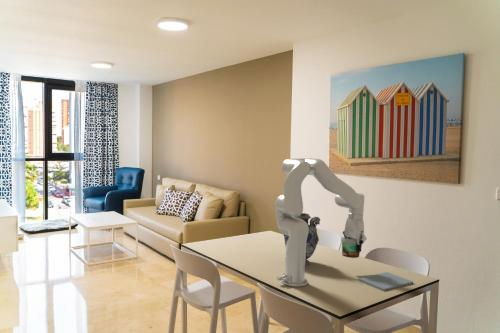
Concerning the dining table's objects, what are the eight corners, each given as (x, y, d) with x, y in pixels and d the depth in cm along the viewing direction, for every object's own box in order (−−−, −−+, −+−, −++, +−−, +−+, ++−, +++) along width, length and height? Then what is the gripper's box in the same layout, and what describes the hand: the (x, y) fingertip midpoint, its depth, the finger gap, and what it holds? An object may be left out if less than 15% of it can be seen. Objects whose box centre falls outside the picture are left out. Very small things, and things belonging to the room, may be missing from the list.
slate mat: (383, 291, 189) (383, 288, 189) (357, 280, 202) (357, 278, 202) (413, 283, 200) (413, 281, 200) (386, 273, 214) (387, 272, 214)
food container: (345, 258, 209) (346, 239, 208) (339, 255, 215) (341, 236, 214) (366, 258, 212) (367, 239, 212) (360, 255, 218) (361, 236, 217)
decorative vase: (275, 263, 225) (278, 213, 224) (288, 255, 242) (291, 209, 240) (312, 270, 215) (315, 218, 214) (322, 262, 232) (325, 214, 230)
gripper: (338, 214, 218) (336, 246, 219) (363, 220, 203) (360, 254, 204) (348, 213, 222) (346, 245, 223) (373, 219, 207) (370, 253, 208)
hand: (353, 249), depth 213 cm, fingers closed on food container, 6 cm apart
